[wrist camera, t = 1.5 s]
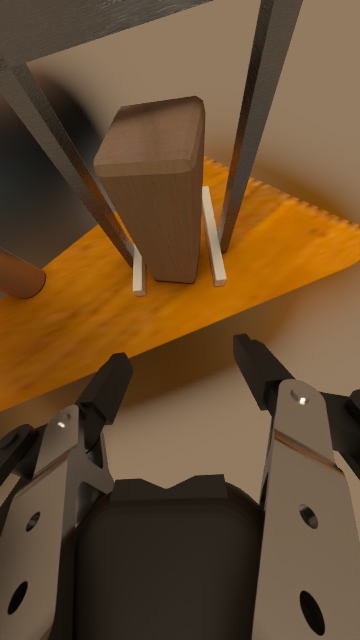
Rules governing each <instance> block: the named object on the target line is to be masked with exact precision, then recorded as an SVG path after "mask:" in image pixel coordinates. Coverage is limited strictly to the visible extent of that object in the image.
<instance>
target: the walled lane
mask: <svg viewBox="0 0 360 640" xmlns="http://www.w3.org/2000/svg"><path fill="white" fill-rule="evenodd" d="M202 213H203V219H204V225H205V231H206V237H207V243H208V250H209V256H210V262H211V268H212V274H213V280H214V286H223V285H224V284H225V281H226V275H225V270H224V265H223V260H222V255H221V249H220V244H219V239H218V234H217V229H216V224H215V219H214V214H213V209H212V204H211V199H210V193H209V188H208V186H205V187H202ZM133 292H134V293H135V294H136V295H137V296H144V295H146V263H145V262H144V260H143V258H142V256H141V254H140V253H139V251H138V249H137V247H136V245H135V244H134V264H133Z"/></svg>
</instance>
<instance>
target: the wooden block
mask: <svg viewBox="0 0 360 640" xmlns="http://www.w3.org/2000/svg"><path fill="white" fill-rule="evenodd" d="M204 133H205V109H204V104H203V100H201V99H200V98H198V97H197V96H191V97H184V98H178V99H170V100H164V101H157V102H150V103H143V104H136V105H130V106H123V107H121V108H120V109H119V110H118V112H117V113H116V115H115V117H114V119H113V122H112V124H111V126H110V128H109V130H108V132H107V134H106V136H105V138H104V140H103V142H102V144H101V146H100V149H99V150H98V153H97V155H96V157H95V159H94V168H95V171H96V174H97V177H98V178H99V180H100V182H101V184H102V186H103V187H104V189H105V191H106V193H107V195H108V196H109V198H110V200H111V202H112V204H113V205H114V207H115V209H116V211H117V213H118V215H119V216H120V218H121V220H122V222H123V224H124V225H125V227H126V229H127V231H128V233H129V235H130V236H131V238H132V240H133V242H134V244H135V245H136V247H137V249H138V251H139V253H140V254H141V256H142V258H143V260H144V262H145V263H146V265H147V267H148V269H149V271H150V273H151V274H152V276H153V278H154V279H155V280H158V281H171V282H183V283H193V282H194V281H195V279H196V272H197V266H198V259H199V252H200V234H201V209H202V184H203V159H204Z"/></svg>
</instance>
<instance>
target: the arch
mask: <svg viewBox="0 0 360 640" xmlns="http://www.w3.org/2000/svg"><path fill="white" fill-rule="evenodd" d="M209 1H212V0H0V92H1V93H2V95H3V96H4V97H5V99H6V100H7V101H8V103H9V104H10V106H11V107H12V108H13V110H14V111H15V112H16V114H17V115H18V116H19V118H20V119H21V120H22V122H23V123H24V124H25V126H26V127H27V128H28V130H29V131H30V132H31V134H32V135H33V136H34V138H35V139H36V140H37V142H38V143H39V144H40V146H41V147H42V149H43V150H44V151H45V152H46V154H47V155H48V157H49V158H50V159H51V161H52V162H53V163H54V165H55V166H56V167H57V169H58V170H59V171H60V173H61V174H62V175H63V177H64V178H65V179H66V181H67V182H68V183H69V185H70V186H71V187H72V189H73V190H74V192H75V193H76V194H77V195H78V197H79V198H80V199H81V201H82V202H83V204H84V205H85V206H86V208H87V209H88V210H89V212H90V213H91V214H92V216H93V217H94V218H95V220H96V221H97V222H98V224H99V225H100V226H101V228H102V229H103V230H104V232H105V233H106V234H107V236H108V237H109V239H110V240H111V241H112V243H113V244H114V245H115V247H116V248H117V249H118V251H119V252H120V253H121V255H122V256H123V257H124V259H125V260H126V261H127V263H128V264H129V265H130V267H133V264H134V248H133V246H132V245H131V243H130V241H129V239H128V238H127V236H126V234H125V233H124V231H123V229H122V227H121V226H120V224H119V222H118V221H117V219H116V217H115V215H114V214H113V212H112V210H111V209H110V207H109V205H108V204H107V202H106V200H105V198H104V197H103V195H102V193H101V191H100V190H99V188H98V186H97V185H96V183H95V181H94V180H93V178H92V176H91V175H90V173H89V171H88V169H87V168H86V166H85V164H84V162H83V161H82V159H81V157H80V156H79V154H78V152H77V150H76V149H75V147H74V145H73V144H72V142H71V140H70V138H69V137H68V135H67V133H66V132H65V130H64V128H63V127H62V125H61V123H60V121H59V120H58V118H57V116H56V114H55V113H54V111H53V109H52V108H51V106H50V104H49V103H48V101H47V99H46V97H45V96H44V94H43V92H42V91H41V89H40V87H39V86H38V84H37V82H36V80H35V79H34V77H33V75H32V74H31V72H30V70H29V68H28V67H27V65H26V62H29V61H32V60H35V59H38V58H41V57H44V56H47V55H50V54H53V53H56V52H59V51H62V50H65V49H68V48H71V47H74V46H77V45H80V44H83V43H86V42H89V41H92V40H95V39H98V38H101V37H104V36H107V35H110V34H113V33H116V32H119V31H122V30H125V29H128V28H131V27H134V26H137V25H140V24H143V23H146V22H149V21H152V20H155V19H158V18H161V17H164V16H167V15H170V14H173V13H176V12H179V11H182V10H185V9H188V8H191V7H194V6H197V5H200V4H203V3H206V2H209ZM302 2H303V0H261V4H260V9H259V14H258V20H257V25H256V31H255V36H254V41H253V47H252V52H251V58H250V63H249V68H248V74H247V80H246V84H245V90H244V96H243V101H242V106H241V112H240V117H239V122H238V128H237V134H236V139H235V144H234V149H233V155H232V160H231V166H230V171H229V176H228V182H227V187H226V193H225V198H224V203H223V209H222V214H221V220H220V225H219V231H218V239H219V244H220V249H221V254H222V253H226V252H227V249H228V246H229V242H230V239H231V236H232V233H233V229H234V226H235V223H236V219H237V216H238V213H239V209H240V206H241V203H242V200H243V196H244V193H245V190H246V186H247V183H248V180H249V176H250V173H251V170H252V166H253V163H254V160H255V157H256V153H257V150H258V146H259V143H260V140H261V137H262V134H263V130H264V127H265V124H266V120H267V117H268V114H269V110H270V107H271V104H272V101H273V97H274V94H275V91H276V87H277V84H278V80H279V77H280V74H281V71H282V67H283V64H284V61H285V57H286V54H287V51H288V48H289V44H290V41H291V38H292V35H293V31H294V28H295V25H296V21H297V18H298V15H299V11H300V8H301V5H302Z"/></svg>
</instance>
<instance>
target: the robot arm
mask: <svg viewBox="0 0 360 640" xmlns="http://www.w3.org/2000/svg"><path fill="white" fill-rule="evenodd" d="M44 282H45V274H44V272H43V271H42V270H40V269H39V268H37V267H35V266H33V265H31V264H29V263H28V262H26V261H24V260H22V259H20V258H19V257H17V256H15V255H13V254H11V253H9V252H8V251H6V250H4V249H2V248H0V291H1V292H4V293H7V294H10V295H13V296H16V297H19V298H29V297H32V296H33V295H35V294H36V293H37V292H38V291H40V289H41V288H42V286H43V285H44ZM233 353H234V358H235V361H236V363H237V365H238V366H239V368H240V370H241V373H242V374H243V376H244V378H245V380H246V382H247V384H248V386H249V388H250V390H251V392H252V394H253V396H254V398H255V400H256V402H257V404H258V406H259V408H260V410H261V411H262V410H268V411H269V413H270V414H271V416H272V419H271V426H270V433H269V440H268V447H267V454H266V461H265V467H264V473H263V479H262V485H261V492H260V499H259V505H258V503H256V502H255V501H254V500H253V499H252V498H251V497H250V496H249V495H248V494H246V493H245V492H244V491H242V490H241V489H240V488H238V487H236V486H234V485H232V484H230V483H227V482H225V479H224V474H220V475H219V474H218V475H199V476H194V477H192V478H189V479H187V480H185V481H183V482H181V483H179V484H177V485H175V486H173V487H171V488H168V489H164V488H162V487H159V486H157V485H155V484H152V483H150V482H147V481H145V480H143V479H123V480H116V481H115V484H114V481H113V478H112V476H111V474H110V472H109V469H108V463H107V455H106V448H105V440H104V434H103V431H102V429H103V427H104V425H112V424H113V422H114V419H115V417H116V414H117V411H118V409H119V407H120V404H121V402H122V399H123V397H124V394H125V392H126V389H127V387H128V384H129V382H130V379H131V377H132V374H133V367H132V365H131V363H130V361H129V359H128V357H127V355H126V354H125V353H124V352H122V353H115V354H113V355H112V356H111V357H110V359H109V360H108V361H107V362H106V363H105V364H104V365H103V366H102V367H101V368H100V369H99V370H98V372H97V373H96V375H95V376H94V377H93V379H92V381H91V382H90V383H89V384H88V386H87V387H86V389H85V390H84V391H83V393H82V394H81V396H80V397H79V398H78V400H77V401H76V403H75V404H74V405H71V406H68V407H66V408H64V409H63V410H61V411H60V412H58V413H57V414H56V415H55V416H54V417H53V418H52V419H51V421H50V422H49V423H47V424H45V425H43V426H40V427H38V428H36V429H35V428H33V427H32V426H30V425H29V424H24V425H21V426H19V427H17V428H15V429H14V430H12V431H11V432H9V433H8V434H7V435H5V436H4V437H3V438H2V439H1V440H0V486H1V485H2V484H3V482H4V481H5V479H6V478H7V477H8V476H9V474H10V473H12V474H15V475H17V476H20V477H21V478H20V479H19V481H18V482H17V484H16V485H15V487H14V488H13V489H12V491H11V492H10V494H9V495H8V497H7V498H6V500H5V501H4V503H3V504H2V506H1V507H0V640H360V543H359V537H358V532H357V527H356V522H355V517H354V511H353V507H352V502H351V497H350V492H349V487H348V483H347V480H346V477H345V475H344V473H343V471H342V470H341V469H340V468H338V467H337V465H336V463H335V460H334V455H333V450H335V451H338V452H339V453H340V454H341V456H342V457H343V458H344V460H345V461H346V462H347V464H348V465H349V466H350V468H351V469H352V470H353V472H354V473H355V475H356V476H357V477H358V479H359V480H360V390H355V391H353V392H352V394H351V395H350V396H349V397H347V396H341V395H335V394H329V393H323V392H319V391H317V390H316V389H315V388H313V387H312V386H310V385H309V384H307V383H305V382H302V381H299V380H296V379H295V378H294V377H293V376H292V375H291V374H290V373H289V372H288V370H286V368H285V367H284V366H283V365H282V364H281V363H280V362H279V361H278V359H277V358H276V357H275V356H274V355H273V354H272V353H271V352H270V351H269V350H268V348H267V347H266V346H265V345H264V344H263V343H261V342H259V341H257V340H251V339H250V338H249V337H248V335H247V334H238V335H234V336H233Z"/></svg>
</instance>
